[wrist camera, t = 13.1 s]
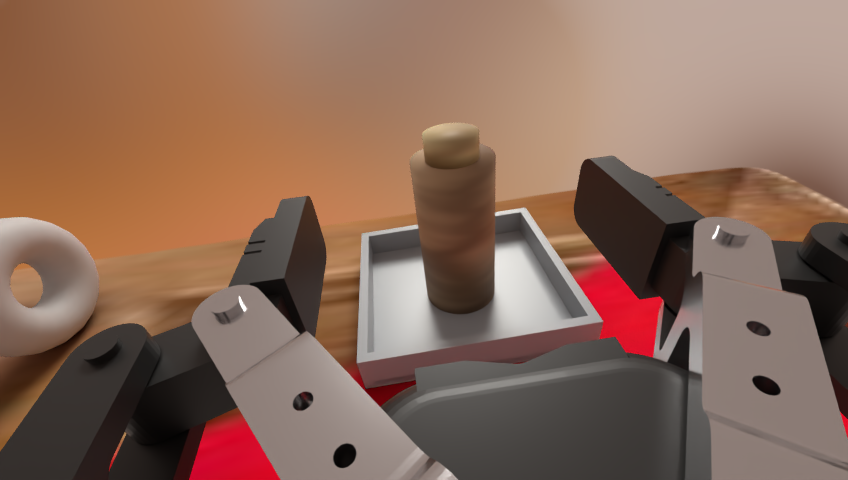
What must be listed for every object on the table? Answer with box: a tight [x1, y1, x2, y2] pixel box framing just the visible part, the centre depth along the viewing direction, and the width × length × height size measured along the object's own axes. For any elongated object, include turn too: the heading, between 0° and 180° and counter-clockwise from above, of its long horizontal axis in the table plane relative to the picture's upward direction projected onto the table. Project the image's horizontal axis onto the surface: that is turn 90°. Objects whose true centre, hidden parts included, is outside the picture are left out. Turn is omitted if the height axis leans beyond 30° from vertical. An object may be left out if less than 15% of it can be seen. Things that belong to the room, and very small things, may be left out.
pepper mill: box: [410, 123, 496, 314], centre depth 24 cm, size 5×5×12 cm
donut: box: [0, 217, 99, 357], centre depth 27 cm, size 10×4×10 cm, turn 4°
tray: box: [357, 208, 603, 389], centre depth 28 cm, size 14×13×2 cm
